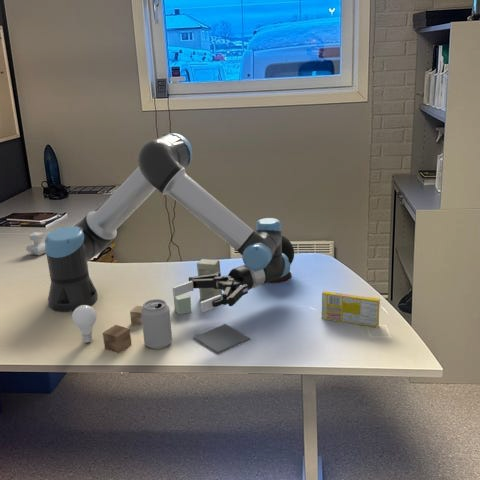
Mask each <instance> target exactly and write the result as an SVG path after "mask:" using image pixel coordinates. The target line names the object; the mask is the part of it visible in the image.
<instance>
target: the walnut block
mask: <svg viewBox="0 0 480 480" xmlns="http://www.w3.org/2000/svg"><path fill="white" fill-rule="evenodd" d="M102 338H103V345H104V349H105V350H108V351H110V352H114V353H116V354H120V353H122V352H123V351H125V350H126V349H128V348H129V347H131V346H132V339H131V330H130V328H129V327H124V326H122V325H118V324H114V325H113V326H111V327H110V328H108V329H106V330H104V331H103V332H102Z"/></svg>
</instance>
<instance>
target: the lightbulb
mask: <svg viewBox="0 0 480 480" xmlns="http://www.w3.org/2000/svg"><path fill="white" fill-rule="evenodd" d="M71 319H72V323H74V326H76V327H77V328H78V329H79V332H80V333H81V337H82V342H83V343H86V344H88V343H91V342H92V341H93V340H94V338H93V328H94V325H95V323H96V321H97V313H96V310H95V308H94V307H92V305H91V306H89V305H81V306H79V307H77V308H76V309H75V310H74V311H72V314H71Z"/></svg>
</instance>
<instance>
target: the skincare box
mask: <svg viewBox="0 0 480 480" xmlns="http://www.w3.org/2000/svg"><path fill="white" fill-rule="evenodd" d="M220 265H221V264H220V259H209V258H207V259H206V258H201V259H200V260H199V261H198V262H197V263H196V268H197V276H202V275H210V274H215V273H221V266H220ZM216 284H217V286H218V283H217V282H216ZM198 289H199V298H200V299H201V300H207V299H210V298H212V297H215V296H218V295H221V297H222V293H223V290H221V289H214V288H198Z"/></svg>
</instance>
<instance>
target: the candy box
mask: <svg viewBox="0 0 480 480" xmlns="http://www.w3.org/2000/svg"><path fill="white" fill-rule="evenodd" d="M380 302H381V299H380V298H378V297H370V296H362V295H354V294H347V293H341V292H332V291H325V290H323V291H322V293H321V319H322V320H326V319H327V321H334V322H339V321H340V322H339V323H346V324H347V323H348V324H351V323H352V324H353V325H357V326H358V325H360V326H364V327H371V328H376V327H377V329H378V328H379V325H380V308H381V307H380V306H381V305H380V304H381V303H380Z"/></svg>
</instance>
